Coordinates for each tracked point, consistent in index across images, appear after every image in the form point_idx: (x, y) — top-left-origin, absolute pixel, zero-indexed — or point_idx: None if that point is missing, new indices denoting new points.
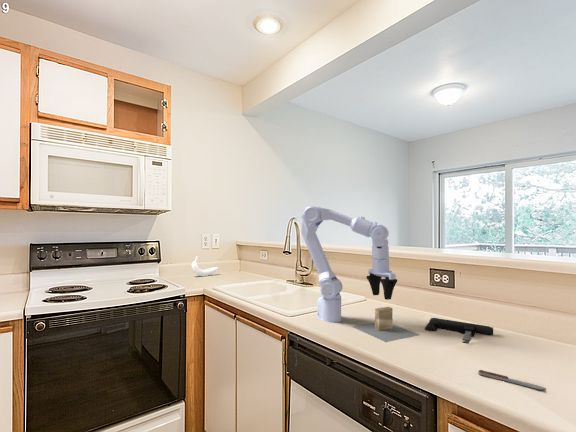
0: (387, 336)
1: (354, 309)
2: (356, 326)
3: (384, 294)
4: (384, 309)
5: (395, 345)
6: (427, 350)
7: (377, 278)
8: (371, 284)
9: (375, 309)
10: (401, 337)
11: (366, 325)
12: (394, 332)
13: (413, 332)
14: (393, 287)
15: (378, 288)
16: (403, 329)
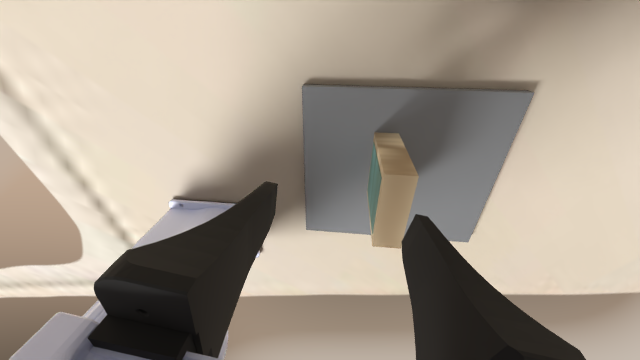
0: (444, 209)
1: (58, 46)
2: (314, 219)
3: (411, 275)
4: (406, 221)
5: (490, 221)
6: (599, 178)
7: (216, 298)
8: (242, 287)
9: (374, 243)
10: (485, 181)
11: (320, 188)
12: (436, 163)
13: (493, 95)
14: (489, 291)
15: (259, 213)
16: (439, 103)
